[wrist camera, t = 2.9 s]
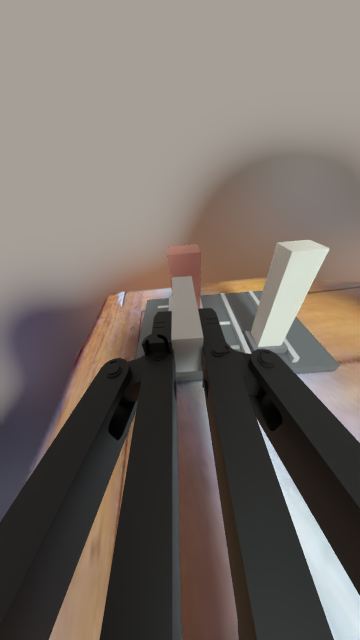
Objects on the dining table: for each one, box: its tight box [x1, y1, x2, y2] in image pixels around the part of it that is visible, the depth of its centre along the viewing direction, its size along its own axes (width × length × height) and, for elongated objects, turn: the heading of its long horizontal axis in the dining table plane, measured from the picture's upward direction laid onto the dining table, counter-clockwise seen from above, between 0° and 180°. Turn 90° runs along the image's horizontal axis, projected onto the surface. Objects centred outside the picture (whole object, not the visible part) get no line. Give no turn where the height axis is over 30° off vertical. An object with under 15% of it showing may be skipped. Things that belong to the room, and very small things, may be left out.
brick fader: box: [168, 244, 201, 309], centre depth 23 cm, size 5×4×15 cm
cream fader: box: [244, 240, 329, 353], centre depth 22 cm, size 5×4×15 cm
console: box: [135, 290, 340, 382], centre depth 32 cm, size 30×21×2 cm
